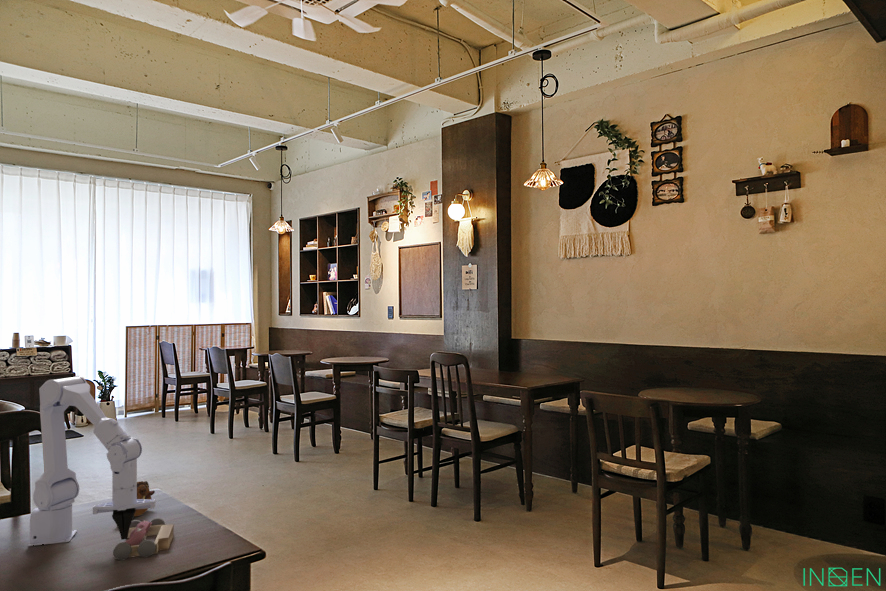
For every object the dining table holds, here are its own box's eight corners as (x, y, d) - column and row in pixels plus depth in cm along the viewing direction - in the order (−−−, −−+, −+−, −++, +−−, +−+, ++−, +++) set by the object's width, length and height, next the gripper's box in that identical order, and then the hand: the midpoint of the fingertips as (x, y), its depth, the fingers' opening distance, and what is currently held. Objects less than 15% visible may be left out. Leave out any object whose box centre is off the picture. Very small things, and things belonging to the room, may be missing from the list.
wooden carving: (128, 526, 174) (128, 491, 174) (113, 526, 175) (113, 491, 175) (157, 506, 191) (157, 475, 191) (143, 506, 191) (143, 475, 191)
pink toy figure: (135, 557, 156) (148, 532, 157) (118, 551, 155) (131, 525, 156) (145, 543, 166) (157, 519, 166) (128, 537, 165) (141, 512, 166)
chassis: (112, 561, 151) (112, 545, 151) (127, 535, 167) (127, 520, 167) (166, 554, 154) (166, 539, 154) (175, 530, 171) (175, 515, 171)
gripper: (89, 493, 153) (89, 547, 153) (152, 487, 158) (152, 540, 158) (96, 485, 160) (96, 536, 160) (156, 480, 164) (156, 530, 164)
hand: (124, 537), depth 159 cm, fingers closed
